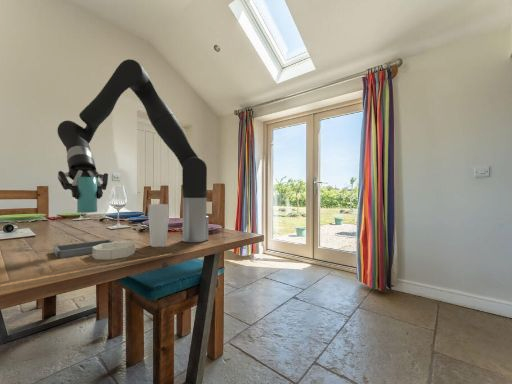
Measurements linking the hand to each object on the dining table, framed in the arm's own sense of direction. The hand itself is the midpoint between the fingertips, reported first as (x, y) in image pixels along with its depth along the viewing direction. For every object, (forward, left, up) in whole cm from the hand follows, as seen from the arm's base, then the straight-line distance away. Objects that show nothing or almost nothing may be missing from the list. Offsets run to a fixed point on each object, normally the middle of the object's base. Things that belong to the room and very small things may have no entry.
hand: (88, 196), depth 76 cm
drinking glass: (-20, +5, -18) cm, 27 cm away
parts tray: (0, -2, -18) cm, 18 cm away
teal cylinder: (0, -2, -5) cm, 5 cm away
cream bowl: (-5, +9, -18) cm, 20 cm away
